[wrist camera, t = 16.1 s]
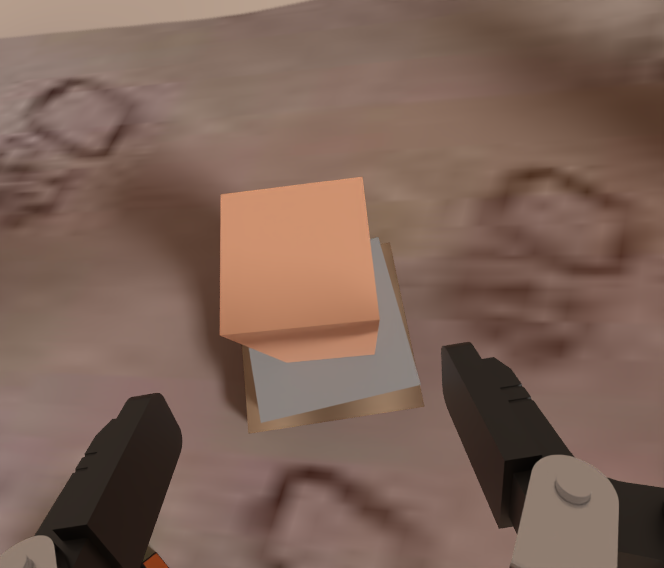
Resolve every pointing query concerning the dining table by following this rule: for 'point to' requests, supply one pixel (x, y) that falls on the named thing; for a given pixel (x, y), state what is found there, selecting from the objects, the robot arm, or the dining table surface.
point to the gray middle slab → (340, 365)
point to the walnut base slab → (356, 408)
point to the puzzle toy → (154, 562)
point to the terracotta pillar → (299, 271)
